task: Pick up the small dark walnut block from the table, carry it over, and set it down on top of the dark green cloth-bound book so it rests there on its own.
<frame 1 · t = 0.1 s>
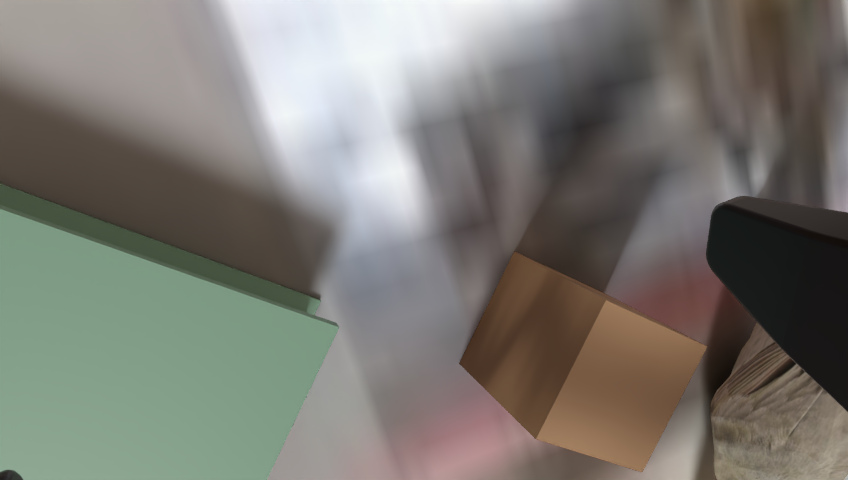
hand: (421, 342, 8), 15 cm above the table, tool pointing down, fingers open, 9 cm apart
walnut block: (533, 326, 28), on the table
decorative bird: (723, 379, 33), on the table
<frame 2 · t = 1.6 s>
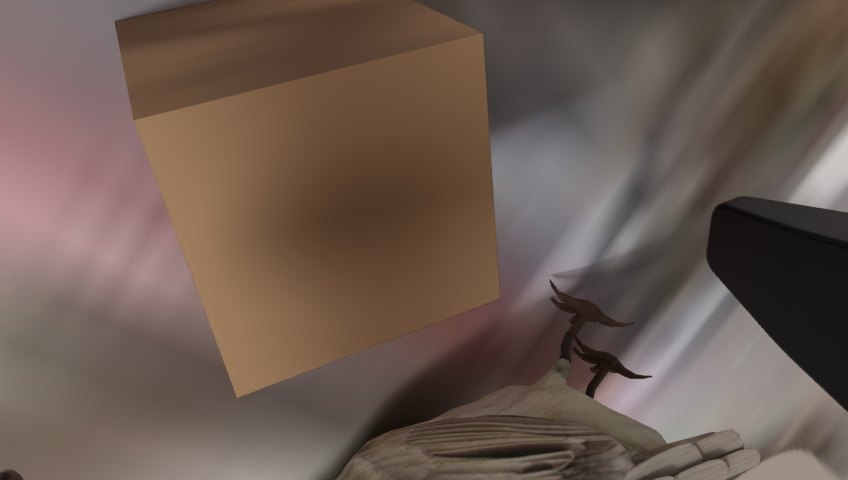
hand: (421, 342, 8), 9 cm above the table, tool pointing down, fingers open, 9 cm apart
walnut block: (268, 108, 15), on the table
decorative bird: (393, 434, 23), on the table
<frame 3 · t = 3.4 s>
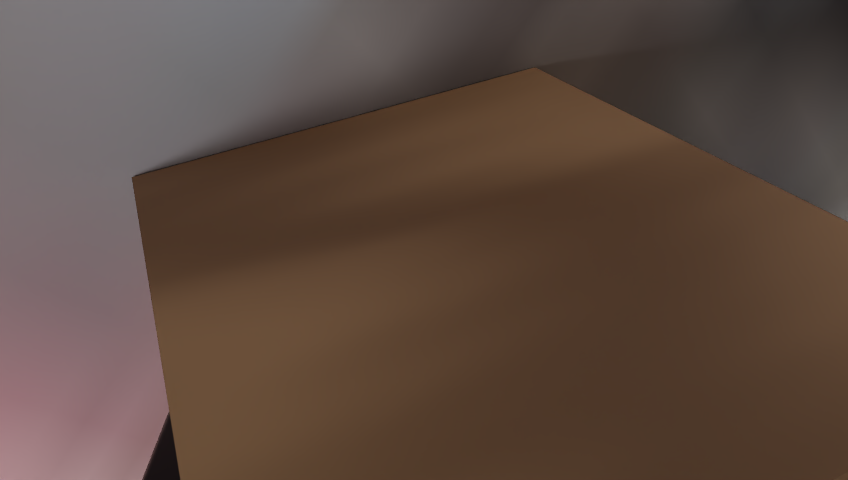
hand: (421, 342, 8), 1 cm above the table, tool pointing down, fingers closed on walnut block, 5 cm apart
walnut block: (382, 286, 9), on the table, touching gripper
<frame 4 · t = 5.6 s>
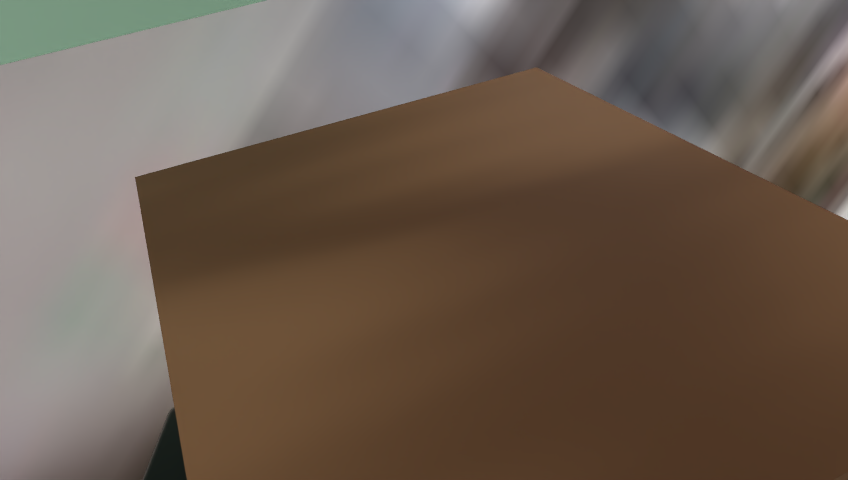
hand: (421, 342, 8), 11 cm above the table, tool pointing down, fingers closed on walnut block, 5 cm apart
walnut block: (384, 285, 9), point 10 cm above the table, touching gripper
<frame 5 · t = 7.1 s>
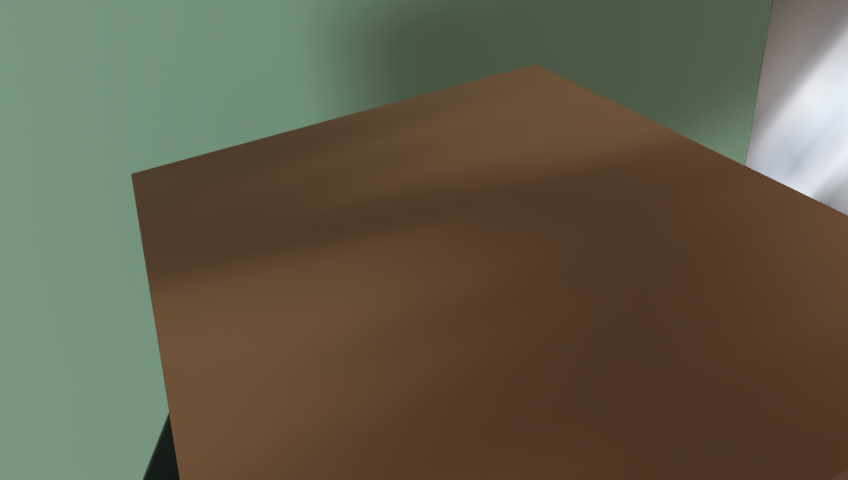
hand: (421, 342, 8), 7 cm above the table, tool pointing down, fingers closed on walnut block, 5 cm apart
green book: (280, 129, 14), on the table
walnut block: (382, 284, 9), point 6 cm above the table, touching gripper
when the fingers open (6 cm above the table, at t = 8.1 s): walnut block drops 2 cm, resting on green book.
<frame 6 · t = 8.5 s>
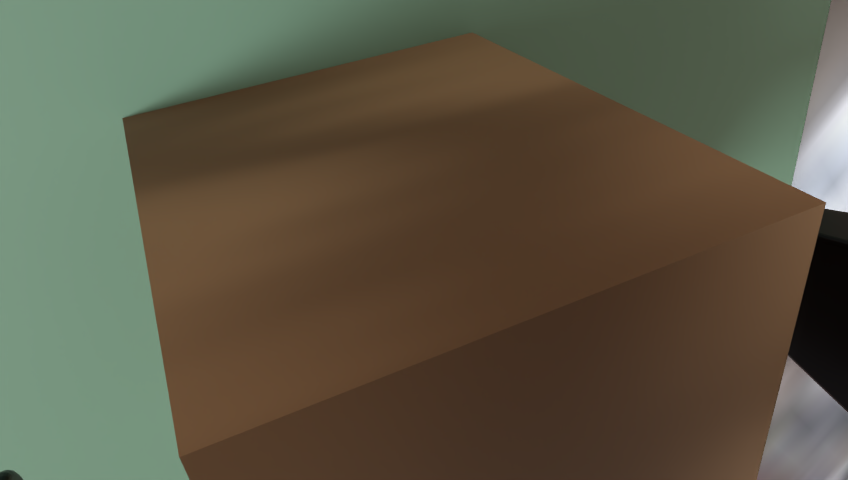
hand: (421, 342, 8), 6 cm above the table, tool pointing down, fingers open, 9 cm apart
green book: (296, 155, 13), on the table, touching walnut block
walnut block: (342, 225, 11), point 3 cm above the table, touching green book
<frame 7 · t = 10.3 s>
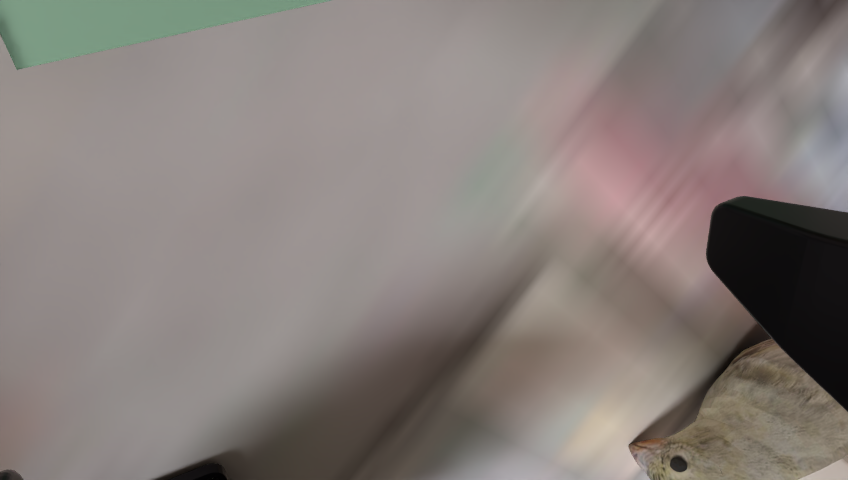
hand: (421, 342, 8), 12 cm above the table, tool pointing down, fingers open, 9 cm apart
decorative bird: (743, 346, 35), on the table
jar: (778, 475, 44), on the table
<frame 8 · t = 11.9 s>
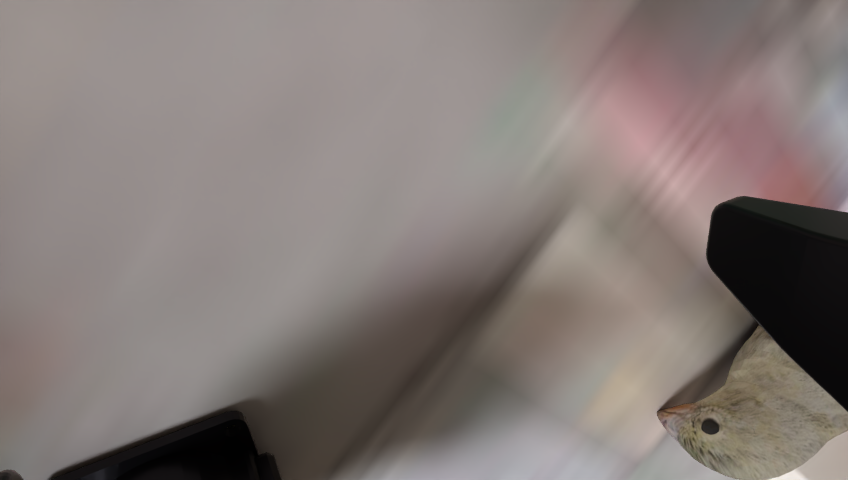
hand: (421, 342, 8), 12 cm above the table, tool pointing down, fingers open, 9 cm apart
decorative bird: (769, 310, 34), on the table
jar: (798, 452, 43), on the table
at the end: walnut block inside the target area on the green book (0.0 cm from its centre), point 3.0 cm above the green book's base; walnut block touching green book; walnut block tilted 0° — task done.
